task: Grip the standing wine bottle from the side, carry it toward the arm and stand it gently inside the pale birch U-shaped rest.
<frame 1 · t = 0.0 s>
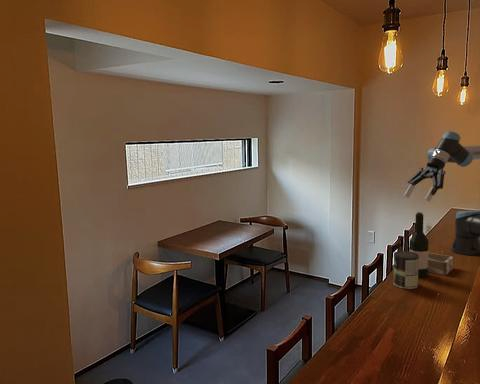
hand: (416, 198, 188), 36 cm above the bar counter, tool tilted 35°, fingers open, 13 cm apart
coffee can: (405, 285, 176), on the bar counter
wine bottle: (418, 275, 187), on the bar counter
u rest: (436, 269, 194), on the bar counter
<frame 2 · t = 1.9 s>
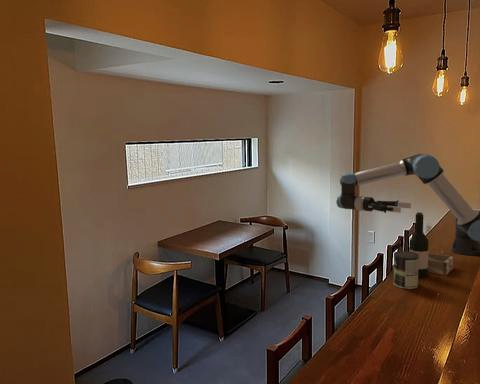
hand: (405, 207, 196), 30 cm above the bar counter, tool horizontal, fingers open, 13 cm apart
nothing on the bar counter moved.
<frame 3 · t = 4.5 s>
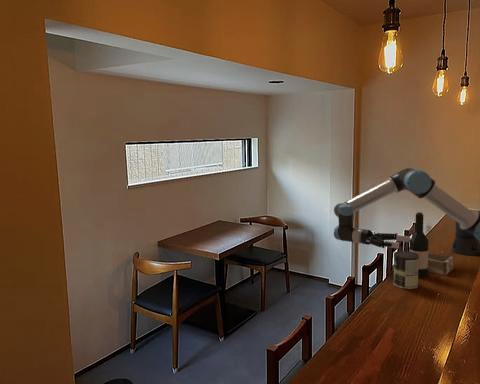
hand: (404, 242, 190), 15 cm above the bar counter, tool horizontal, fingers open, 13 cm apart
nothing on the bar counter moved.
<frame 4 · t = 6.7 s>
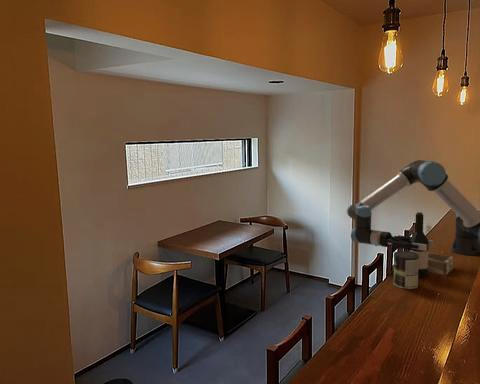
hand: (429, 245, 182), 15 cm above the bar counter, tool horizontal, fingers closed on wine bottle, 8 cm apart
wine bottle: (418, 275, 187), on the bar counter, touching gripper
everything else where it was.
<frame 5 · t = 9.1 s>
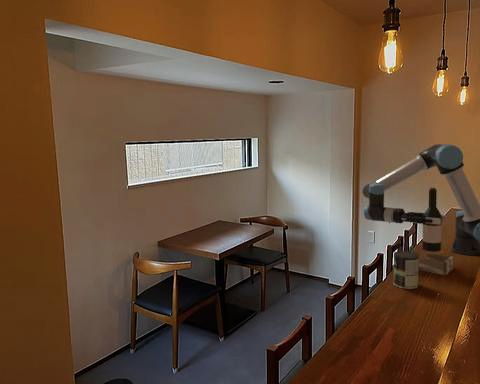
hand: (443, 219, 186), 26 cm above the bar counter, tool horizontal, fingers closed on wine bottle, 8 cm apart
wine bottle: (431, 249, 191), point 10 cm above the bar counter, touching gripper
everything else where it was.
when the fingers open (16 cm above the bar counter, at t = 11.7 s): wine bottle drops 1 cm, resting in u rest.
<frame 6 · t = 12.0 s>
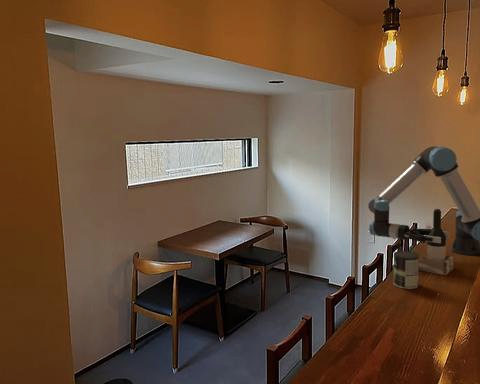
hand: (444, 237, 190), 16 cm above the bar counter, tool horizontal, fingers open, 12 cm apart
wine bottle: (435, 269, 194), resting in u rest
everything else where it was.
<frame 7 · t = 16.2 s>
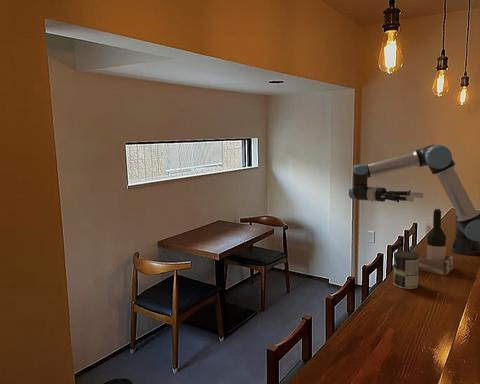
hand: (418, 197, 197), 35 cm above the bar counter, tool horizontal, fingers open, 13 cm apart
nothing on the bar counter moved.
at the end: wine bottle inside the target area on the u rest (0.1 cm from its centre), point 0.0 cm above the u rest's base; wine bottle tilted 0°; the gripper is holding nothing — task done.
